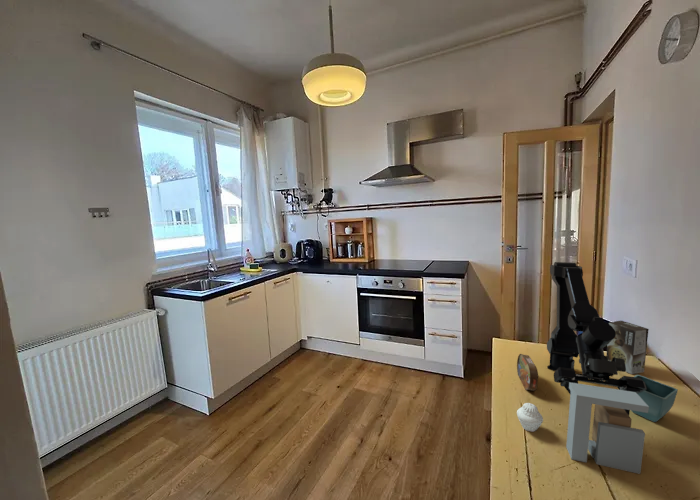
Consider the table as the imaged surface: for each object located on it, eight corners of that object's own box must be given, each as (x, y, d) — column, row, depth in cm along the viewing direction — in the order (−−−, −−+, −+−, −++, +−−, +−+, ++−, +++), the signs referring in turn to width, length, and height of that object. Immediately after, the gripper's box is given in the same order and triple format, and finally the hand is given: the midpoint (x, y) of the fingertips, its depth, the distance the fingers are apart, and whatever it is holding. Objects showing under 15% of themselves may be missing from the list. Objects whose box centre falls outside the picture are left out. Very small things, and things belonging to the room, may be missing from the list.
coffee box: (645, 372, 109) (650, 328, 107) (631, 374, 108) (636, 331, 105) (617, 360, 118) (621, 319, 116) (604, 362, 116) (608, 321, 114)
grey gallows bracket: (564, 442, 78) (569, 382, 76) (629, 456, 73) (636, 392, 71) (571, 459, 73) (576, 395, 70) (641, 475, 68) (650, 406, 66)
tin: (515, 371, 112) (517, 349, 111) (525, 372, 111) (526, 350, 110) (527, 395, 98) (529, 370, 96) (538, 396, 97) (540, 371, 96)
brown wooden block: (591, 438, 79) (595, 395, 77) (610, 441, 78) (615, 398, 76) (604, 462, 72) (609, 415, 70) (626, 466, 70) (631, 419, 69)
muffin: (514, 418, 87) (515, 395, 86) (538, 422, 85) (540, 399, 84) (518, 433, 81) (520, 409, 80) (545, 438, 79) (546, 413, 78)
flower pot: (661, 430, 81) (665, 398, 80) (620, 411, 89) (623, 382, 88) (674, 418, 85) (678, 389, 84) (634, 401, 93) (637, 374, 92)
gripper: (559, 339, 83) (568, 401, 74) (647, 349, 76) (668, 418, 68) (550, 353, 91) (557, 410, 83) (628, 362, 85) (645, 425, 76)
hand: (603, 415), depth 77 cm, fingers open, 9 cm apart
